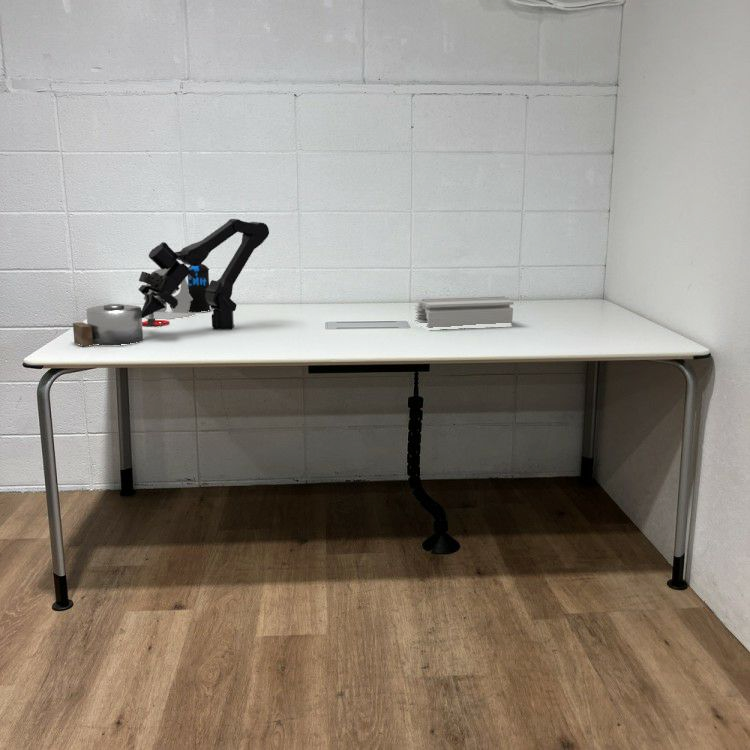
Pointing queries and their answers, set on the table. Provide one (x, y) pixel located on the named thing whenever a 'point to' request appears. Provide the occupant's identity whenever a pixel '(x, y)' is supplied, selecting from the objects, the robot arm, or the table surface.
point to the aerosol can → (199, 288)
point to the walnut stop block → (82, 334)
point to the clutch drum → (115, 324)
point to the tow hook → (154, 321)
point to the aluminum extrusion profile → (464, 311)
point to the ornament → (183, 302)
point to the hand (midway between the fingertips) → (140, 316)
